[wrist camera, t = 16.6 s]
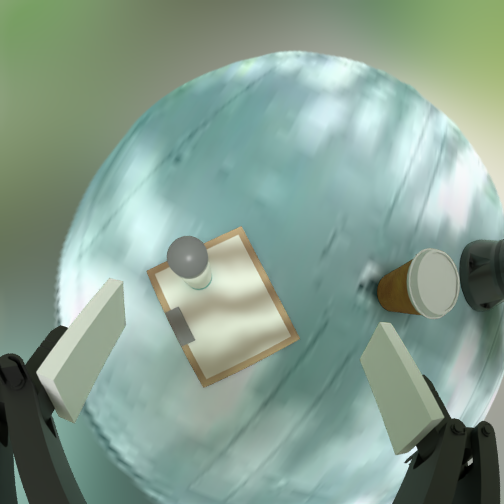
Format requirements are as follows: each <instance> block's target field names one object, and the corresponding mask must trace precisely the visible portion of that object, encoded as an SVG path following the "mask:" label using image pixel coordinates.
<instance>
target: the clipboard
mask: <svg viewBox="0 0 504 504" xmlns="http://www.w3.org/2000/svg"><path fill="white" fill-rule="evenodd" d="M204 245H205V247H206V249H207V253H208V258H209V260H208V261H209V265H210V269H211V273H212V281H211V283H210V285H209V286H208V287H207V288H205V289H203V290H196V289H193V288H191V287H190V286H189V285H188V284H187V283H186V282H185V281H184V280H183V279H182V278H181V277H179V276H178V275H176V274H175V273H174V272H173V271H172V270H171V268H170V267H169V265H168V262H167V261H166V262H164V263H162V264H160V265H158V266H156V267H154V268H152V269H150V270H147V274H148V276H149V278H150V281H151V283H152V286H153V288H154V290H155V292H156V295H157V297H158V299H159V301H160V304H161V306H162V308H163V310H164V312H165V314H166V317H167V319H168V321H169V323H170V325H171V327H172V329H173V331H174V333H175V335H176V337H177V339H178V341H179V343H180V345H181V347H182V349H183V351H184V353H185V355H186V357H187V359H188V360H189V362H190V364H191V366H192V368H193V370H194V372H195V373H196V375H197V377H198V379H199V381H200V382H201V384H202V386H203V388H204V387H206V386H209V385H211V384H213V383H215V382H217V381H220V380H222V379H224V378H226V377H228V376H230V375H232V374H234V373H236V372H238V371H240V370H243V369H245V368H247V367H249V366H250V365H252V364H254V363H256V362H258V361H260V360H262V359H264V358H266V357H268V356H270V355H272V354H274V353H275V352H277V351H279V350H281V349H283V348H285V347H286V346H288V345H290V344H292V343H294V342H295V341H297V340H299V339H300V338H299V336H298V334H297V332H296V330H295V328H294V326H293V324H292V322H291V320H290V319H289V317H288V315H287V313H286V311H285V309H284V307H283V305H282V303H281V301H280V299H279V297H278V295H277V294H276V292H275V290H274V288H273V286H272V284H271V282H270V280H269V278H268V276H267V274H266V272H265V270H264V269H263V267H262V265H261V263H260V261H259V259H258V257H257V255H256V253H255V251H254V249H253V247H252V245H251V244H250V242H249V240H248V238H247V236H246V234H245V232H244V230H243V228H242V226H241V227H239V228H236V229H234V230H232V231H230V232H228V233H226V234H223V235H221V236H219V237H217V238H215V239H213V240H210V241H208V242H206V243H204Z"/></svg>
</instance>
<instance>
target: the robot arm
mask: <svg viewBox="0 0 504 504" xmlns="http://www.w3.org/2000/svg"><path fill="white" fill-rule="evenodd" d="M460 279H461V285H462V289H463V293H464V295H465V298H466V300H467V302H468V303H469V305H470V306H471V307H472V308H473V309H475V310H477V311H486V310H490V309H492V308H494V307H495V306H497V305H498V304H500V303H502V302H503V301H504V239H503V240H500V241H494V240H476V241H474V242H471V243H469V244H468V245H467V246H466V247H465V249H464V251H463V253H462V257H461V262H460ZM125 326H126V321H125V308H124V292H123V281H119V280H115V279H111V278H109V279H108V280H107V282H106V283H105V284H104V285H103V286H102V287H101V289H100V290H99V291H98V292H97V293H96V294H95V296H94V297H93V298H92V299H91V300H90V302H89V303H88V304H87V305H86V307H85V308H84V309H83V310H82V311H81V313H80V314H79V315H78V316H77V318H76V319H75V320H74V321H73V323H72V324H71V325H70V327H69V328H67V327H64V326H61V325H60V326H59V327H57V328H55V329H54V330H52V331H51V332H50V333H49V334H48V336H47V337H46V338H45V340H44V341H43V342H42V343H41V345H40V347H38V348H37V350H36V351H35V352H34V354H33V355H32V357H31V358H30V359H29V361H28V362H27V363H26V365H25V364H24V362H23V359H21V357H20V356H18V355H16V354H5V355H3V356H1V357H0V504H18V502H17V496H16V486H15V476H14V458H13V453H14V457H15V461H16V465H17V468H18V472H19V475H20V478H21V481H22V484H23V488H24V490H25V493H26V496H27V499H28V501H29V504H87V503H86V501H85V499H84V497H83V495H82V493H81V491H80V489H79V487H78V484H77V482H76V480H75V478H74V475H73V473H72V471H71V468H70V466H69V463H68V461H67V458H66V456H65V453H64V450H63V448H62V445H61V442H60V439H59V436H58V433H57V430H56V426H55V424H54V420H53V417H52V413H53V411H54V409H55V410H56V412H57V414H58V416H59V417H61V418H64V419H66V420H68V421H70V422H72V423H75V422H76V420H77V418H78V416H79V414H80V411H81V409H82V407H83V405H84V403H85V401H86V399H87V397H88V395H89V393H90V391H91V389H92V387H93V385H94V383H95V381H96V379H97V377H98V375H99V373H100V371H101V370H102V368H103V366H104V364H105V362H106V360H107V358H108V356H109V355H110V353H111V351H112V349H113V347H114V346H115V344H116V342H117V340H118V338H119V337H120V335H121V333H122V331H123V330H124V328H125ZM360 361H361V364H362V366H363V369H364V371H365V374H366V376H367V379H368V381H369V384H370V386H371V389H372V391H373V394H374V397H375V399H376V402H377V405H378V407H379V410H380V413H381V415H382V418H383V421H384V424H385V426H386V429H387V432H388V435H389V438H390V441H391V444H392V446H393V449H394V452H395V455H399V454H403V453H407V452H409V451H410V450H411V449H413V448H414V447H415V446H416V447H417V449H418V450H417V451H416V452H415V453H414V454H413V455H411V456H410V457H409V458H408V459H407V460H406V461H405V462H404V463H407V462H409V461H410V460H411V459H412V460H411V463H410V464H409V468H408V470H407V473H406V475H405V478H404V480H403V482H402V484H401V487H400V489H399V491H398V493H397V495H396V497H395V499H394V501H393V503H392V504H500V477H499V464H498V453H497V445H496V438H495V432H494V429H493V427H492V426H491V424H489V423H488V422H486V421H481V422H480V423H479V424H478V425H477V426H476V427H475V428H469V427H465V425H464V424H463V422H462V421H460V420H459V419H455V418H454V419H451V417H450V415H449V413H448V412H447V410H446V408H445V406H444V404H443V402H442V400H441V398H440V397H439V395H438V393H437V391H435V388H434V386H433V384H432V382H431V381H430V380H429V379H428V378H427V377H426V376H425V375H422V374H421V373H420V371H419V369H418V367H417V366H416V364H415V362H414V360H413V359H412V357H411V355H410V354H409V352H408V350H407V349H406V347H405V345H404V344H403V342H402V340H401V339H400V337H399V335H398V334H397V332H396V331H395V329H394V327H393V326H392V324H391V323H387V322H379V324H378V326H377V328H376V330H375V332H374V334H373V335H372V337H371V339H370V341H369V343H368V345H367V347H366V349H365V351H364V352H363V354H362V356H361V358H360ZM471 458H473V463H472V464H471V465H469V466H468V463H467V462H468V461H469V460H470V459H471Z"/></svg>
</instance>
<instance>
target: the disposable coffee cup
mask: <svg viewBox="0 0 504 504" xmlns="http://www.w3.org/2000/svg"><path fill="white" fill-rule="evenodd" d="M459 289H460V280H459V274H458V271H457V268H456V265H455V264H454V262H453V260H452V259H451V258H450V256H449V255H448V254H446V253H445V252H443V251H441V250H436V249H432V248H428V249H424V250H422V251H420V252H419V253H418V254H417V255H416V256H415V257H414V259H412V260H411V261H409V262H407V263H406V264H404V265H402V266H401V267H399V268H397V269H396V270H394V271H392V272H390V273H389V274H387V275H385V276H384V277H383V278H382V279H381V280H380V282H379V285H378V289H377V295H378V300H379V302H380V304H381V305H382V307H383V308H384V309H386V310H388V311H392V312H400V313H408V314H416V315H423V316H424V317H426V318H429V319H438V318H441V317H442V316H444V315H445V314H446V313H447V312H449V311H450V310H451V309H452V308H453V307H454V305H455V304H456V302H457V298H458V295H459Z"/></svg>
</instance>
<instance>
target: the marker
mask: <svg viewBox="0 0 504 504" xmlns="http://www.w3.org/2000/svg"><path fill="white" fill-rule="evenodd" d="M208 260H209V258H208V253H207V249H206V247H205V245H204V244H203V242H202V241H200V240H199V239H197V238H195V237H192V236H183V237H180V238H178V239H176V240H175V241H174V242H173V243H172V244H171V245H170V247H169V249H168V252H167V262H168V265H169V267H170V268H171V270H172V271H173V272H174V273H175V274H176V275H178V276H179V277H181V278H182V279H183V280H184V281H185V282H186V283H187V284H188V285H189V286H190V287H191V288H193V289H196V290H203V289H205V288H207V287H208V286H209V285H210V283H211V281H212V273H211V269H210V265H209V261H208Z"/></svg>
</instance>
